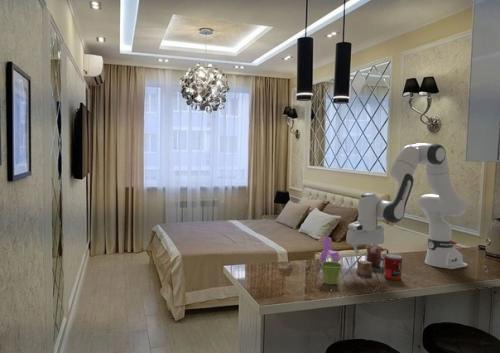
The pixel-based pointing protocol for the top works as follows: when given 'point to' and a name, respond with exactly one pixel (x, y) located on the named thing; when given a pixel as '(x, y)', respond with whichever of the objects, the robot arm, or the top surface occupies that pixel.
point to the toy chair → (328, 251)
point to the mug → (375, 255)
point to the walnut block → (364, 268)
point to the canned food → (393, 266)
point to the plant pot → (331, 272)
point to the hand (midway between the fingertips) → (364, 253)
